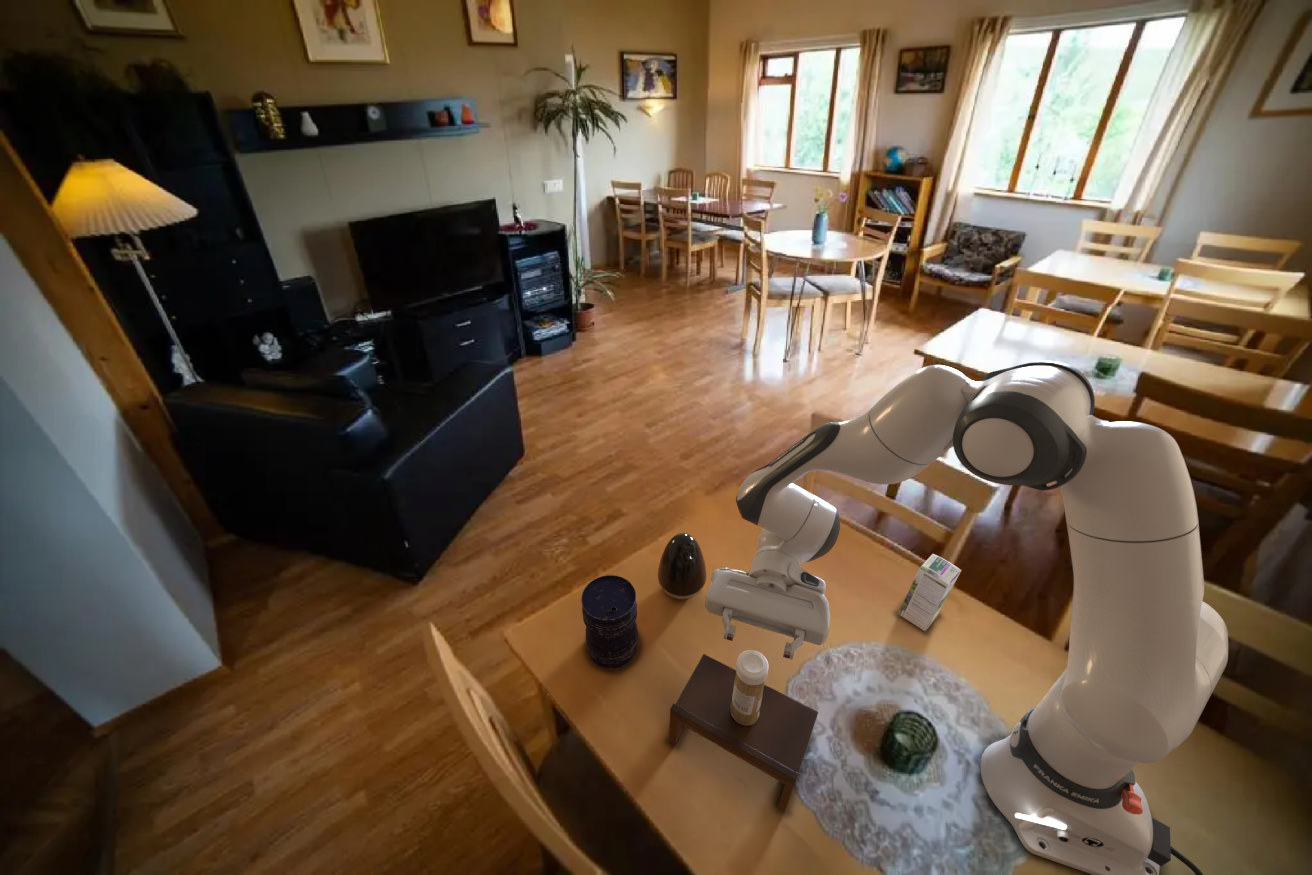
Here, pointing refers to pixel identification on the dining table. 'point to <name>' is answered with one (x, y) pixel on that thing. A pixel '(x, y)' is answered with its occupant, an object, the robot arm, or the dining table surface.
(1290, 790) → the dining table surface
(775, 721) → the desk shelf
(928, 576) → the syrup box
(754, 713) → the sprinkles bottle
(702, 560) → the black egg-shaped piece
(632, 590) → the storage jar
